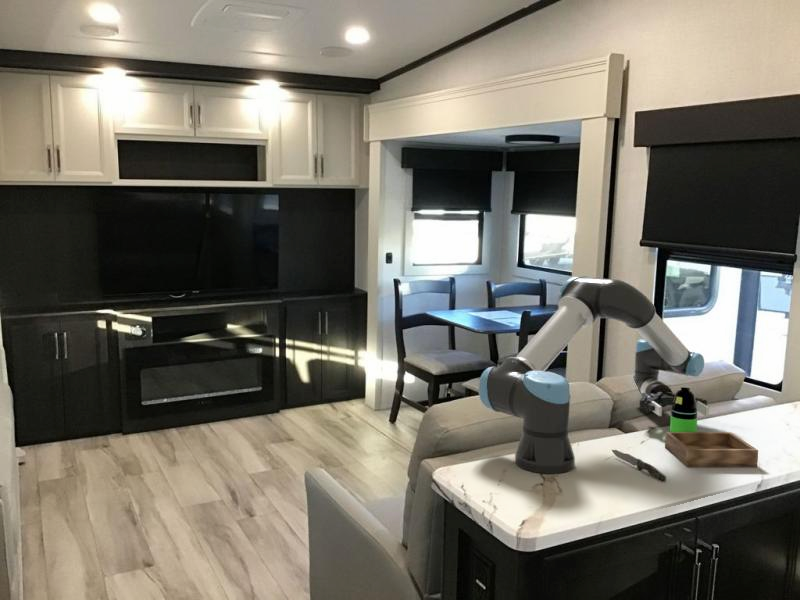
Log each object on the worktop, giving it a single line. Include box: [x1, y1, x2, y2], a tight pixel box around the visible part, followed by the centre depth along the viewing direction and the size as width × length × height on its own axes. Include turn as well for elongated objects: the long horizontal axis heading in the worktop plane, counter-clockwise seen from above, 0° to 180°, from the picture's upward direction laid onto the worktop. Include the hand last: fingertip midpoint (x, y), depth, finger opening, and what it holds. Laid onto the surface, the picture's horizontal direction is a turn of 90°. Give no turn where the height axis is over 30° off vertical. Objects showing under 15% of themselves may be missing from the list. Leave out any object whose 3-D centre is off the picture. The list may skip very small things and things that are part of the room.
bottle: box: [669, 386, 698, 432], centre depth 199 cm, size 7×7×15 cm
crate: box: [664, 431, 759, 468], centre depth 185 cm, size 18×15×4 cm
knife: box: [611, 449, 667, 482], centre depth 177 cm, size 20×1×3 cm, turn 21°
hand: (684, 411), depth 201 cm, fingers open, 13 cm apart
